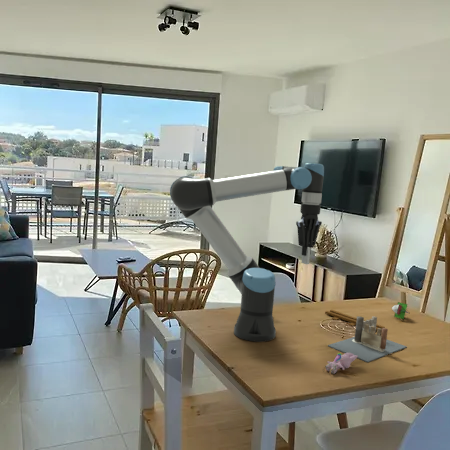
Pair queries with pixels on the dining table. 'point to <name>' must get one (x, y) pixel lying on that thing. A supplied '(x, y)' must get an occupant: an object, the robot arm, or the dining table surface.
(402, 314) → the geometric puzzle
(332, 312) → the decorative fence
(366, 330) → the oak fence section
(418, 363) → the dining table surface
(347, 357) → the rabbit figure
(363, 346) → the board
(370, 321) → the white fence section
